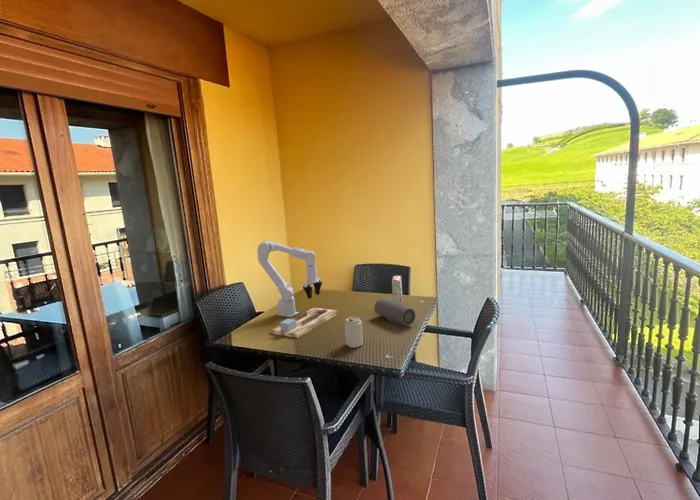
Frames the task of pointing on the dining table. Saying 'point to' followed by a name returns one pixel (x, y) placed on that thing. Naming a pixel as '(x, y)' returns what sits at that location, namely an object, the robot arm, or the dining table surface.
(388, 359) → the dining table surface
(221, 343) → the dining table surface
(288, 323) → the slate block
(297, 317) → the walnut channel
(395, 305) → the bluetooth speaker
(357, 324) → the can
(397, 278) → the candy bar box
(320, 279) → the robot arm
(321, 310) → the birch deck
